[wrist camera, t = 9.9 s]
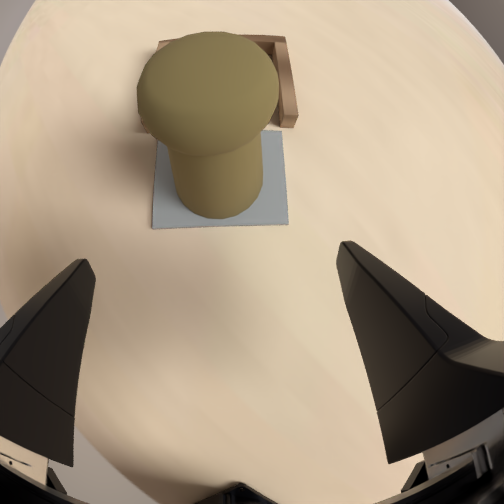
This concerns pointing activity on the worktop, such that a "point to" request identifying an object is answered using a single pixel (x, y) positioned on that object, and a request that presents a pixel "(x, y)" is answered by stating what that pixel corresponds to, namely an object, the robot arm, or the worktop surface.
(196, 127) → the cork
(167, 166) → the pad
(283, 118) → the u-shaped wooden frame
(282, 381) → the worktop surface
